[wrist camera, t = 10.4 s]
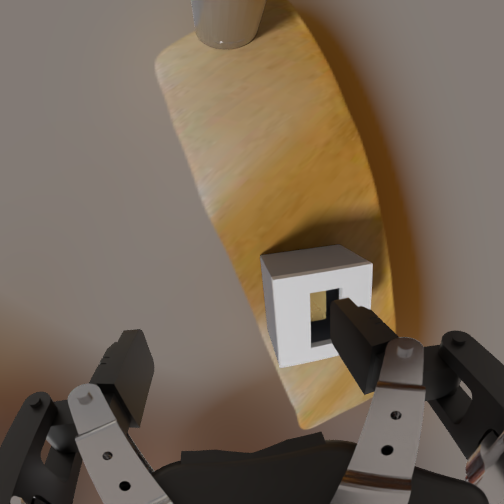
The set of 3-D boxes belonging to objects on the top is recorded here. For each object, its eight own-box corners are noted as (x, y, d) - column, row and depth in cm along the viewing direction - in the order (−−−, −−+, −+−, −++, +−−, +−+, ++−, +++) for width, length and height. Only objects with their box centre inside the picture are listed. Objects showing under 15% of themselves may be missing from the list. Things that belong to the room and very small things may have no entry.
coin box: (260, 255, 39) (272, 280, 29) (339, 244, 40) (372, 263, 30) (267, 329, 42) (280, 367, 32) (339, 315, 43) (366, 347, 33)
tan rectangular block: (294, 272, 39) (307, 287, 33) (311, 269, 39) (325, 284, 34) (296, 303, 41) (308, 322, 35) (312, 300, 41) (326, 318, 35)
